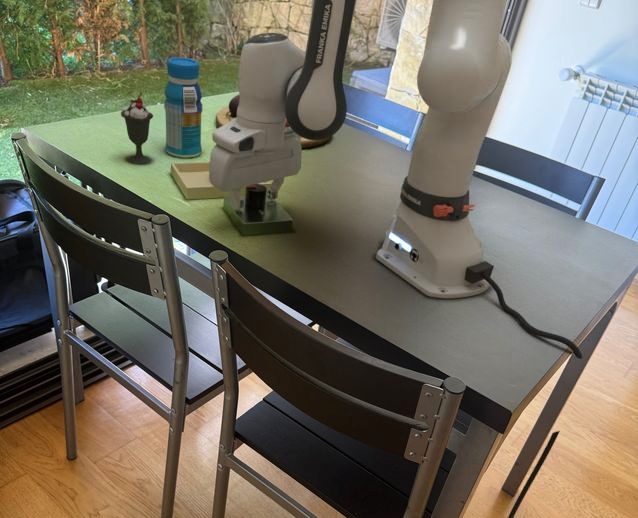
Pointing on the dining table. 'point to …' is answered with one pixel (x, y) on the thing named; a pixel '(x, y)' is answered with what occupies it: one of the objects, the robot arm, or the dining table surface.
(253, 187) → the oven dial
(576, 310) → the dining table surface
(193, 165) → the wooden tray
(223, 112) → the wooden plate
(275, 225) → the oven panel
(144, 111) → the sundae
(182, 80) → the beverage bottle
